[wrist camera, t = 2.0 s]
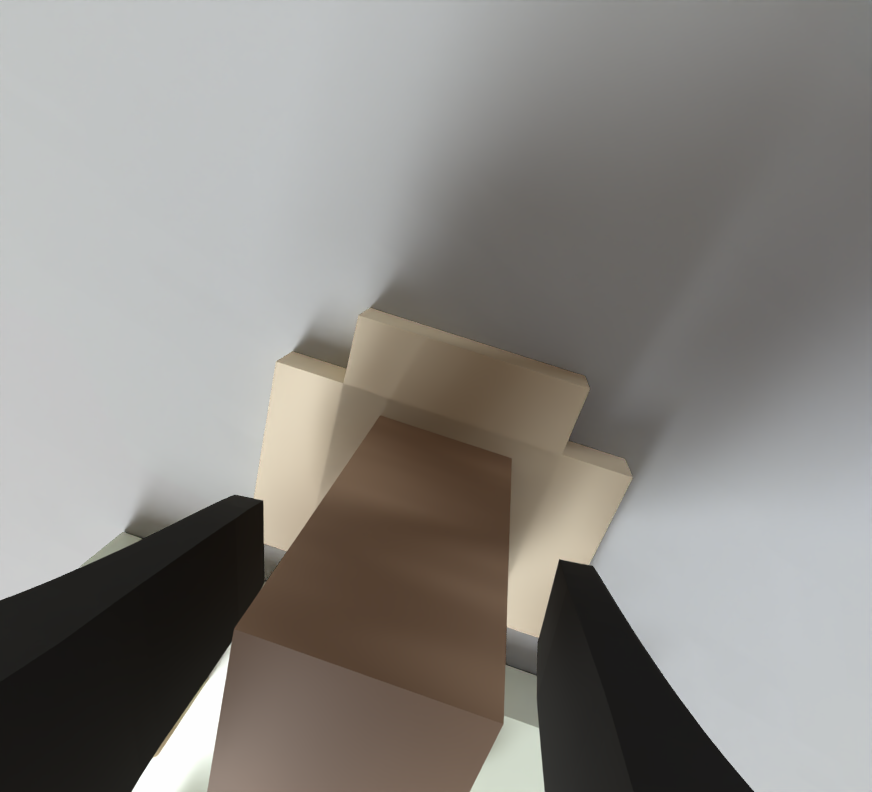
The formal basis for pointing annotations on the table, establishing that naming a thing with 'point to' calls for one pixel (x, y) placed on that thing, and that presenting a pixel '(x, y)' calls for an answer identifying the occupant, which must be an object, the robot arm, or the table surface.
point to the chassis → (197, 727)
